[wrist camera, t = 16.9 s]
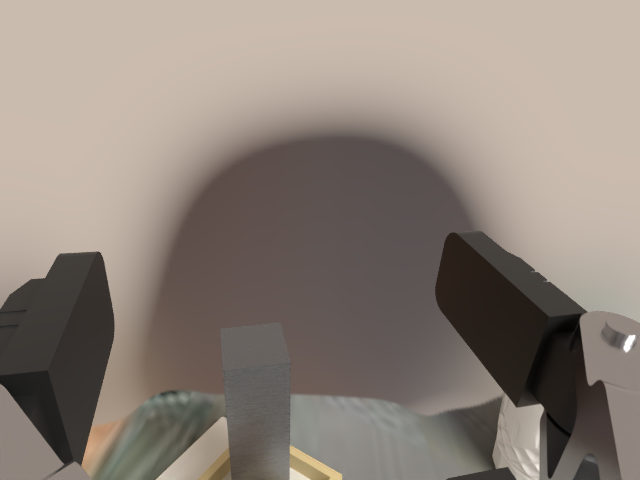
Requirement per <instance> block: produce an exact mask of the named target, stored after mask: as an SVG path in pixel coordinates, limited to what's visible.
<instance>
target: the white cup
mask: <svg viewBox="0 0 640 480" xmlns="http://www.w3.org/2000/svg"><path fill="white" fill-rule="evenodd" d="M543 411H544V407H543V406H542V405H541V404H537V405H531V406H525V407H518V408H516V406H515V405H514V404H513V402H512V401H511V400H510V399H509V397H508V396H507V395H506V393H505V392H504V394H503V398H502V403H501V407H500V413H499V419H498V424H497V427H498V431H497V437H496V442H495V446H494V450H493V454H492V457H493V461H494V464H495V468H496V469H499V468H504V467H508V468H509V469H510V471H511V472H512V474H513V475H514V477H515V478H516V480H539V455H540V418H541V416H542V413H543Z"/></svg>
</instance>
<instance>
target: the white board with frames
mask: <svg viewBox="0 0 640 480" xmlns="http://www.w3.org/2000/svg"><path fill="white" fill-rule="evenodd" d="M156 480H231V467H230V455H229V442H228V429H227V419H226V418H224V417H223V416H222V417H221V418H220V419H219V420H218V421H217V422H216V423H215V424H214V425H213V426H211V427H210V428H209V429H208V430H207V431H206V432H205V433H204V434H203V435H202V436H201V437H200V438H199V439H198V440H197V441H196V442H195V443H194V444H193V445H192V446H190V447H189V448H188V449H187V450H186V451H185V452H184V453H183V454H182V455H181V456H180V457H179V458H178V459H177V460H176V461H175V462H174V463H173V464H172V465H170V466H169V467H168V468H167V469H166V470H165V471H164V472H163V473H162V474H161V475H160V476H159V477H158V478H157V479H156ZM290 480H342V475H341V474H340V473H338V472H336V471H335V470H333V469H331V468H329V467H328V466H326V465H324V464H322V463H321V462H319V461H317V460H315V459H314V458H312V457H310V456H308V455H307V454H305V453H303V452H301V451H300V450H298V449H296V448H294V447H293V446H291V445H290Z"/></svg>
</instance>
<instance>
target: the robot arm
mask: <svg viewBox="0 0 640 480" xmlns="http://www.w3.org/2000/svg"><path fill="white" fill-rule="evenodd" d="M435 294H436V300H437V303H438V306H439V308H440V310H441V311H442V313H443V314H444V315H445V316H446V318H447V319H448V320H449V322H450V323H451V324H452V325H453V327H454V328H455V329H456V331H457V332H458V333H459V334H460V336H461V337H462V338H463V340H464V341H465V342H466V343H467V345H468V346H469V347H470V349H471V350H472V351H473V352H474V354H475V355H476V356H477V357H478V359H479V360H480V361H481V362H482V364H483V365H484V367H485V368H486V369H487V370H488V372H489V373H490V374H491V376H492V377H493V378H494V379H495V380H496V382H497V383H498V385H499V386H500V387H501V388H502V390H503V391H504V392H505V393H506V395H507V396H508V397H509V399H510V400H511V401H512V402H513V404H514V405H515V406H516V408H518V407H525V406H531V405H537V404H541V405H542V406H543V407H544V411H543V413H542V416H541V418H540V455H539V480H640V323H638V322H637V321H634V320H632V319H630V318H627V317H624V316H622V315H618V314H614V313H610V312H603V311H594V312H587V311H586V310H584V309H583V308H582V307H581V306H579V305H578V304H577V303H576V302H574V301H573V300H572V299H571V298H569V297H568V296H567V295H566V294H564V293H563V292H562V291H561V290H559V289H558V288H557V287H556V286H555V285H553V284H552V283H551V282H547V279H546V278H545V277H543V276H542V275H541V274H540V273H538V272H535V270H534V269H533V268H532V267H531V266H530V265H528V264H527V263H526V262H524V261H523V260H522V259H521V258H519V257H517V256H515V255H513V254H511V253H509V252H507V251H505V250H504V249H502V248H501V247H500V246H499V245H498V244H496V243H495V242H494V241H493V240H492V239H490V238H489V237H488V236H487V235H485V234H484V233H483V232H481V231H471V232H454V233H450V234H449V235H448V236H447V238H446V240H445V243H444V248H443V253H442V258H441V262H440V267H439V272H438V277H437V282H436V287H435ZM113 339H114V314H113V308H112V302H111V297H110V292H109V286H108V281H107V276H106V271H105V265H104V260H103V257H102V255H101V253H100V252H83V253H65V254H59V255H58V256H57V258H56V260H55V262H54V264H53V265H52V267H51V269H50V270H49V272H48V274H47V276H46V278H43V279H31V280H30V281H28V282H27V283H25V284H24V285H23V286H21V287H20V288H19V289H17V290H16V291H14V292H13V293H12V294H10V295H9V297H8V298H7V300H6V302H5V303H4V305H3V306H2V308H1V309H0V480H92V479H91V478H90V477H89V475H88V474H87V473H86V472H85V471H84V469H83V468H82V467H81V464H82V461H83V457H84V453H85V449H86V445H87V441H88V437H89V433H90V429H91V426H92V421H93V418H94V414H95V410H96V406H97V402H98V398H99V394H100V390H101V386H102V383H103V379H104V375H105V371H106V367H107V363H108V359H109V355H110V351H111V348H112V344H113ZM447 480H516V478H515V477H514V475H513V474H512V472H511V471H510V469H509V468H508V467H504V468H499V469H494V470H489V471H484V472H478V473H473V474H468V475H463V476H458V477H453V478H448V479H447Z"/></svg>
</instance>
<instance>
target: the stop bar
mask: <svg viewBox="0 0 640 480" xmlns="http://www.w3.org/2000/svg"><path fill="white" fill-rule="evenodd" d="M221 346H222V364H223V377H224V391H225V404H226V416H227V429H228V442H229V455H230V467H231V480H290V358H289V354H288V350H287V346H286V342H285V338H284V335H283V330H282V326H281V323H280V322H278V323H269V324H260V325H251V326H242V327H233V328H224V329H221Z"/></svg>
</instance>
